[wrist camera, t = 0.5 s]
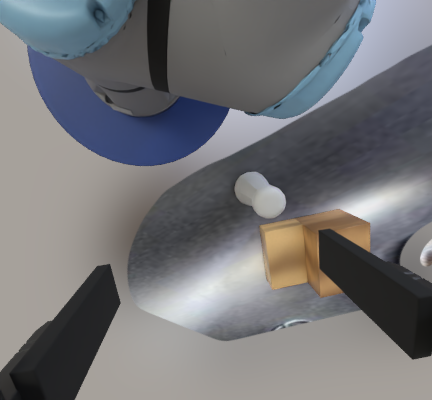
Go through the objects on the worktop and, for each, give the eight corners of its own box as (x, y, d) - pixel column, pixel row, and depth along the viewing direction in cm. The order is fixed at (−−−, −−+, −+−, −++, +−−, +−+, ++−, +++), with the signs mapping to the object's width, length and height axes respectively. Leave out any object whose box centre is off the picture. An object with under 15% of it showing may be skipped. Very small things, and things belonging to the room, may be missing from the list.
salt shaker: (240, 206, 42) (260, 233, 29) (226, 180, 40) (241, 196, 28) (268, 191, 42) (300, 212, 29) (255, 164, 40) (283, 173, 28)
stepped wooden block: (259, 225, 43) (273, 243, 35) (339, 208, 44) (370, 223, 36) (266, 279, 46) (281, 306, 38) (341, 263, 47) (370, 287, 39)
